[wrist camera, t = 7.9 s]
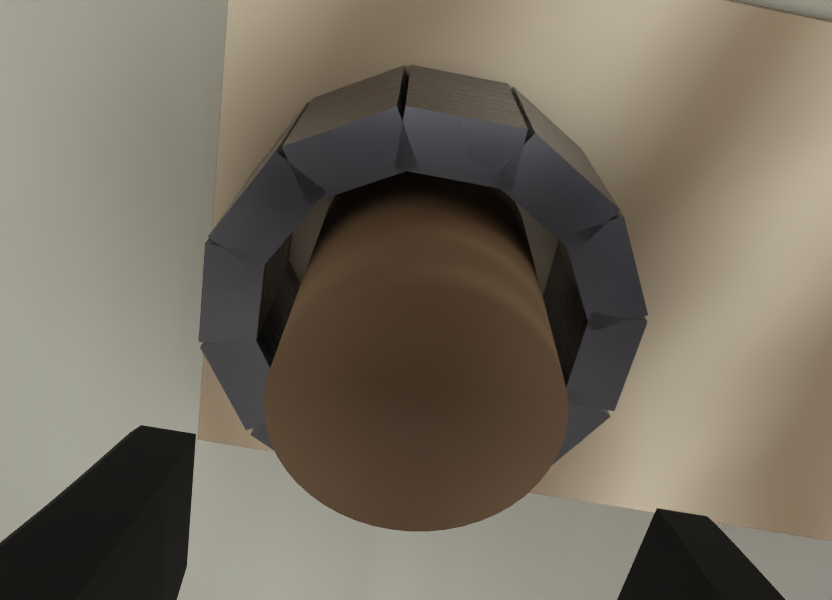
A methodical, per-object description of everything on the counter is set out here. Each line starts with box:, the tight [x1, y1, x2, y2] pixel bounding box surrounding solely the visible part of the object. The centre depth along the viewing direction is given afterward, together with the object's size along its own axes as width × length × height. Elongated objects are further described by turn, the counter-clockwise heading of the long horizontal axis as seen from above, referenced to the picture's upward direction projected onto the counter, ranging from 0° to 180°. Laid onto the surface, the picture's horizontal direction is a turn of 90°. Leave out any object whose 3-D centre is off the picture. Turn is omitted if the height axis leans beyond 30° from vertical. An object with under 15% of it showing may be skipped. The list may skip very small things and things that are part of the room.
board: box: [197, 0, 832, 541], centre depth 17 cm, size 18×12×1 cm, turn 79°
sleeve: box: [199, 65, 648, 465], centre depth 15 cm, size 8×8×4 cm
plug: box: [264, 171, 568, 531], centre depth 14 cm, size 4×4×6 cm
